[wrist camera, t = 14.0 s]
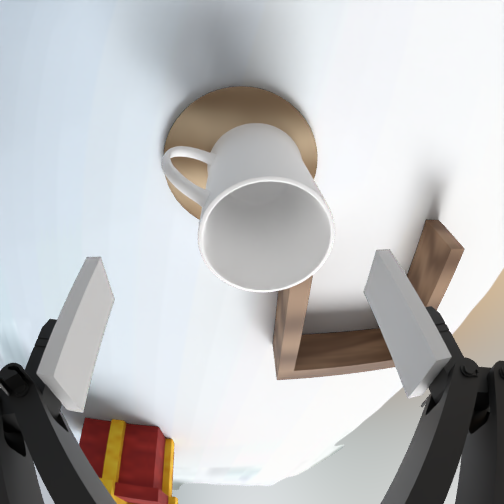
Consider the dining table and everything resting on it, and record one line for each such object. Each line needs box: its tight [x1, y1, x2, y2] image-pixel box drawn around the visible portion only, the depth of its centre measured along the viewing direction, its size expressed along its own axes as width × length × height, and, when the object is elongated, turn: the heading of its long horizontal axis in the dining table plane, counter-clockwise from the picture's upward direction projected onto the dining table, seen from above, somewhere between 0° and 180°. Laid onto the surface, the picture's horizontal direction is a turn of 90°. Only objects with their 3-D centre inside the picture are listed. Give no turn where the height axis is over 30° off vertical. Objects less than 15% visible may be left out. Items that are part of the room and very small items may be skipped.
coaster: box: [163, 86, 317, 220], centre depth 28 cm, size 14×14×1 cm
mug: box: [162, 123, 335, 292], centre depth 23 cm, size 12×8×12 cm
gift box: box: [79, 417, 178, 504], centre depth 58 cm, size 25×25×20 cm
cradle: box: [273, 220, 464, 380], centre depth 36 cm, size 20×19×6 cm
